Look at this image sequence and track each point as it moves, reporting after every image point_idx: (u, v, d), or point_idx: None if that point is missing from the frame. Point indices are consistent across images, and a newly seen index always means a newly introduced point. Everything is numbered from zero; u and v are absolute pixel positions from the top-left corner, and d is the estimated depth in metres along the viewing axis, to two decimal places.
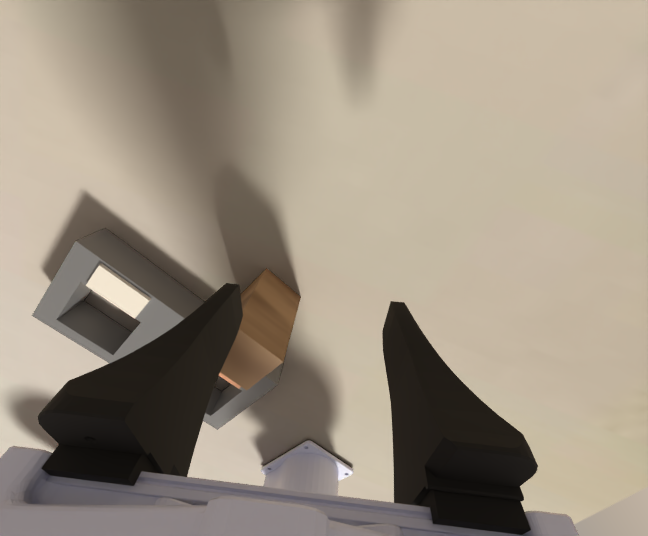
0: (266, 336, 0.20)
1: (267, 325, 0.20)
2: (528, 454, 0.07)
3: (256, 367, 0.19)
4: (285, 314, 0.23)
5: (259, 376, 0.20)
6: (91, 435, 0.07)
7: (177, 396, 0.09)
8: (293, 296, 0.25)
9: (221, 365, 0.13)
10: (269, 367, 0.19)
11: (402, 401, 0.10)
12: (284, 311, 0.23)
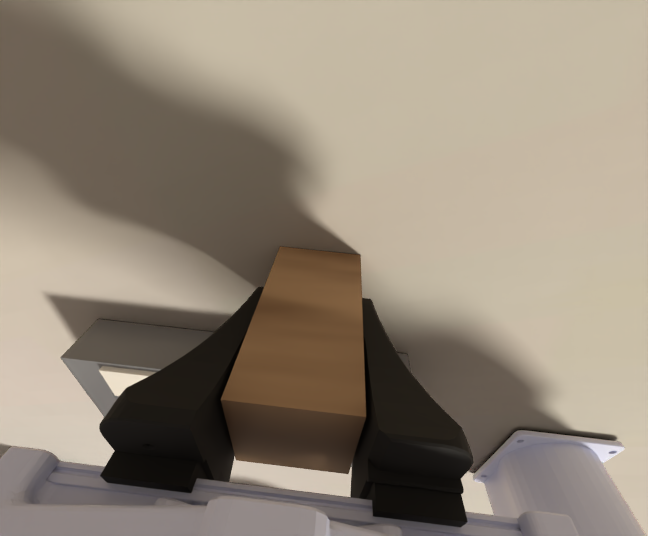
0: (305, 376, 0.09)
1: (303, 349, 0.10)
2: (462, 446, 0.07)
3: (327, 441, 0.09)
4: (339, 303, 0.11)
5: (347, 451, 0.09)
6: (151, 442, 0.07)
7: None
8: (345, 262, 0.14)
9: None
10: (349, 434, 0.09)
11: None
12: (335, 299, 0.12)
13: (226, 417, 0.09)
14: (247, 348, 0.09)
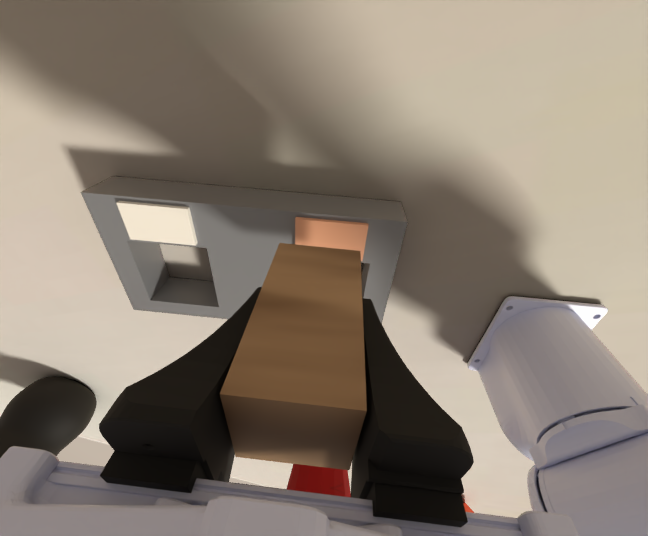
0: (305, 370, 0.09)
1: (303, 344, 0.09)
2: (462, 446, 0.07)
3: (327, 436, 0.09)
4: (339, 298, 0.11)
5: (348, 446, 0.09)
6: (151, 442, 0.07)
7: None
8: (345, 258, 0.14)
9: None
10: (350, 428, 0.08)
11: None
12: (334, 295, 0.11)
13: (225, 412, 0.08)
14: (246, 343, 0.09)
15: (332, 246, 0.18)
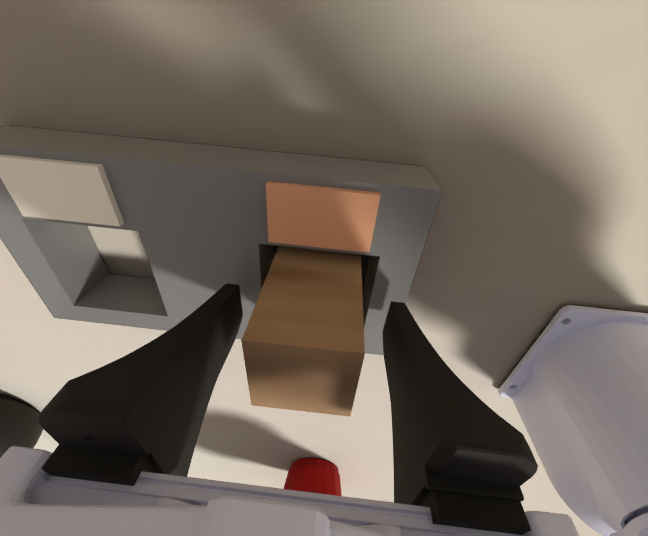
0: (312, 324, 0.10)
1: (310, 304, 0.11)
2: (528, 454, 0.07)
3: (331, 380, 0.10)
4: (341, 269, 0.13)
5: (349, 391, 0.11)
6: (90, 434, 0.07)
7: (177, 396, 0.09)
8: None
9: (221, 365, 0.13)
10: (351, 372, 0.10)
11: (402, 401, 0.10)
12: (337, 267, 0.13)
13: (245, 358, 0.10)
14: (261, 303, 0.11)
15: (324, 229, 0.12)
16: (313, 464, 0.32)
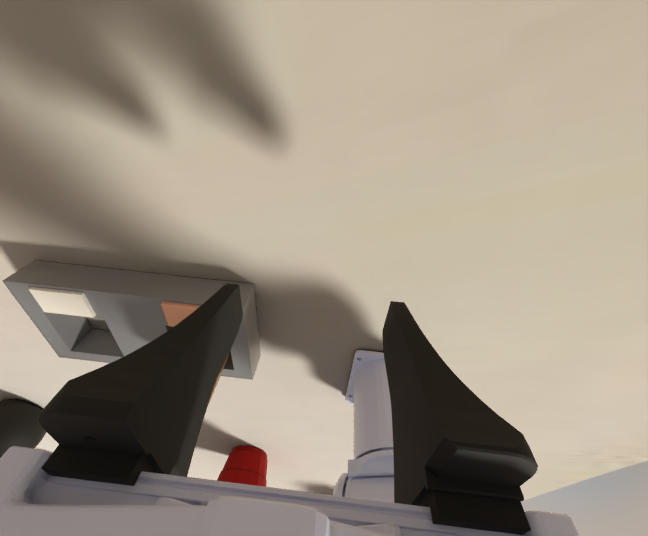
0: None
1: None
2: (528, 454, 0.07)
3: None
4: None
5: None
6: (91, 434, 0.07)
7: (177, 396, 0.09)
8: None
9: (221, 365, 0.13)
10: None
11: (402, 401, 0.10)
12: None
13: None
14: None
15: None
16: (245, 449, 0.45)
